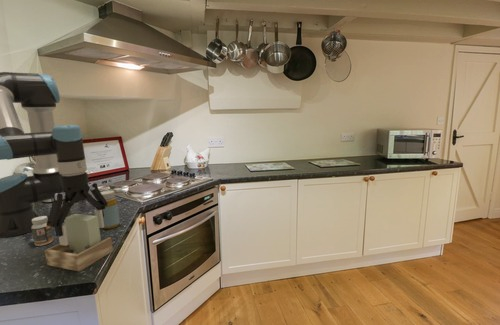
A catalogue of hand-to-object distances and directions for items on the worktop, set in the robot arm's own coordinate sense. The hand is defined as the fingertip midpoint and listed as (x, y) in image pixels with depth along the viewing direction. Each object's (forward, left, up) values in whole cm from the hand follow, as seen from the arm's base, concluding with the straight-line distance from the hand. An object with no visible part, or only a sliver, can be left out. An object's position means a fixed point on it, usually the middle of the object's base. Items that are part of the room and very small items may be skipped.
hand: (83, 235), depth 92 cm
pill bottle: (-24, +2, -7) cm, 26 cm away
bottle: (-12, +22, -7) cm, 25 cm away
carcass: (0, -2, -7) cm, 7 cm away
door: (0, 0, -5) cm, 5 cm away
